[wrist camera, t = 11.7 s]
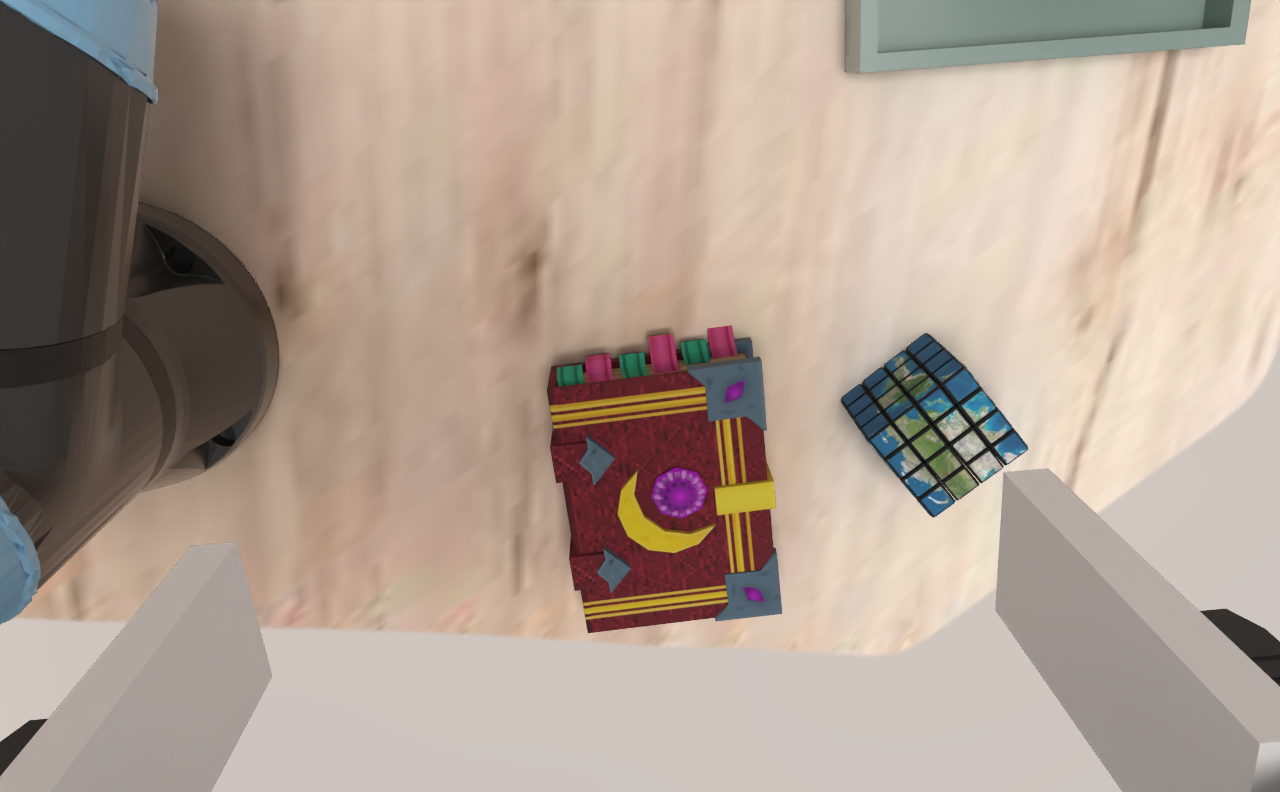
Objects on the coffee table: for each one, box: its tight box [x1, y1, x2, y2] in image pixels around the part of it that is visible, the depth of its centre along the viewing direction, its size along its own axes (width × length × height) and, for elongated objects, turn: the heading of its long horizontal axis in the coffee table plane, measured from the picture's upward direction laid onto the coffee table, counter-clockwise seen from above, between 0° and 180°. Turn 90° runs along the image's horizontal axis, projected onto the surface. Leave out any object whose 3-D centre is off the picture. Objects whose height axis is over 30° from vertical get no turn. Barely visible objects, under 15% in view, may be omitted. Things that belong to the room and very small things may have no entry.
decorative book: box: [547, 326, 782, 633], centre depth 51 cm, size 11×16×5 cm
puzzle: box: [841, 334, 1028, 517], centre depth 50 cm, size 6×6×6 cm
